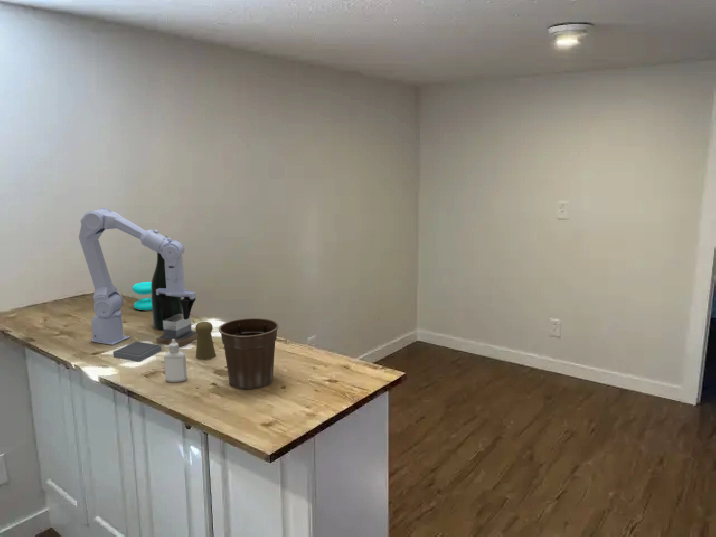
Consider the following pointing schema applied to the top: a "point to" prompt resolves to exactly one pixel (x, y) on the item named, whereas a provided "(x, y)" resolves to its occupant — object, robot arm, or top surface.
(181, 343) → the stand
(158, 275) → the dark green wine bottle
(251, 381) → the plant pot
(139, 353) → the stand
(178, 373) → the eye dropper bottle
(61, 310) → the top surface
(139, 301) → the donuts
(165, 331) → the block
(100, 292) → the robot arm
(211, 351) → the cork
